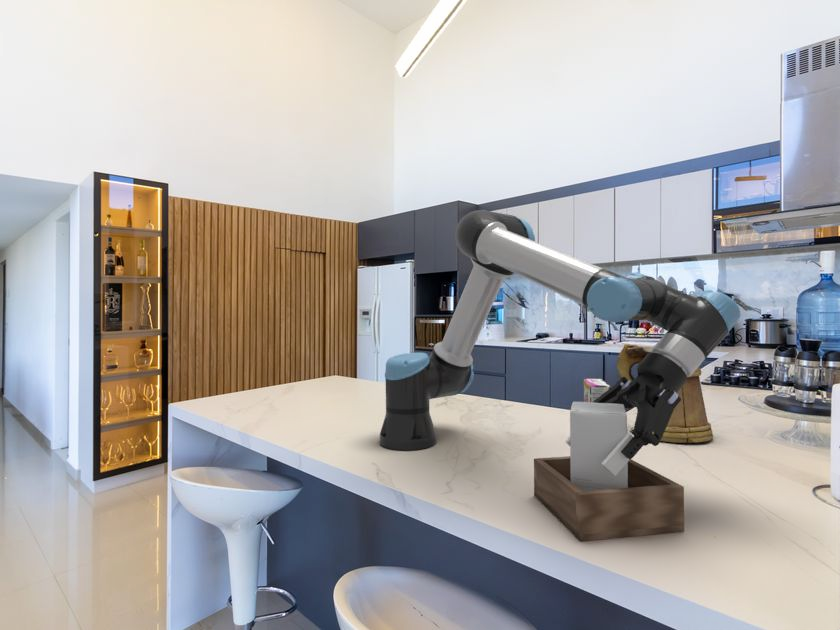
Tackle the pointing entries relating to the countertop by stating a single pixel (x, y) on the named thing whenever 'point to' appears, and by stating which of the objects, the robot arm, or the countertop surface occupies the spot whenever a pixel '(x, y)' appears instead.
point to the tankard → (690, 411)
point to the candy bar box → (594, 389)
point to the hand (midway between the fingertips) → (588, 457)
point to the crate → (610, 502)
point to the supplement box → (596, 444)
